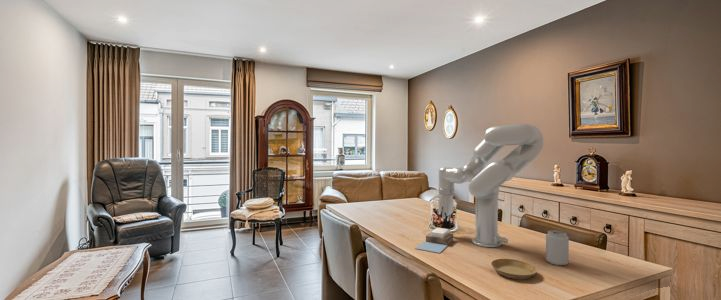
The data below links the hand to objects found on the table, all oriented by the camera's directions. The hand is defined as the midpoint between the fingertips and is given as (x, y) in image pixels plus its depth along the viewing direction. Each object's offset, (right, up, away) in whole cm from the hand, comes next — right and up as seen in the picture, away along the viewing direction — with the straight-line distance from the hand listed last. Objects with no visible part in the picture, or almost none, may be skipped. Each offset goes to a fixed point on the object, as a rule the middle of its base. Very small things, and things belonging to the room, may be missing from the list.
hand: (446, 228), depth 159 cm
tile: (-5, -1, -8) cm, 10 cm away
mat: (-12, -4, -18) cm, 22 cm away
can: (+33, -4, -37) cm, 50 cm away
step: (-6, -4, -9) cm, 11 cm away
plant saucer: (+11, -5, -46) cm, 48 cm away
